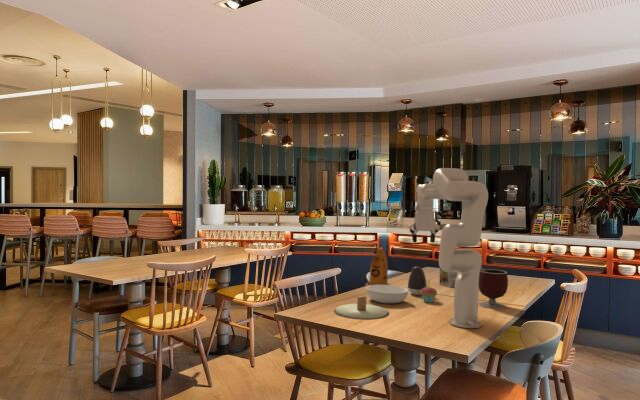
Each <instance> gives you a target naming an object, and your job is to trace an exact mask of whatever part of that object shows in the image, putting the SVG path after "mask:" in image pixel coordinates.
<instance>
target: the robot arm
mask: <svg viewBox="0 0 640 400" xmlns="http://www.w3.org/2000/svg"><path fill="white" fill-rule="evenodd" d="M468 178H469V176H468V174H467V172H466V171H465V170H463V169H461V168H450V167H440V168H437V169H436V170H435V171H434V173H433V176H432V183H424V184H418V185H417V187H416V188H417V189H416V206H414V210H416V211H415V213H414V218H413V222H412V223H411V224H410V223H409V224H408V225H407V229H408V230H409V232H410V233H411V234H412V239H411V240H412V242H413V243H415V244H416V243H418V242H417V241H418V240H417V239H418V235H417V233H418V232H430V235H429V236H430V243H432V244H433V243H435V241H436V234H437V233H438V232H439V229H440V228H441V226H440V225H439V224H437V223H436V221H435V213H434V211H433V200H446V201H448V202H449V201H450V202H468V203H467V204H466V206H465V207H464V208H463V209H462V211H461V215H460V217H461V218H460V222H459V223H456V222H455V223H448V224H446V225H444V226H443V228H442V231H441V234H440V242H439V243H440V244H439V251H438V266H439V269H440V268H441V270H443V271H445V272H457V277H456V280H455V287H454V294H453V295H454V299H453V318H451V319H450V320H449V323H450V325H452V326H455V327H458V328H461V329H462V328H463V329H477V328H481V327H482V322H481V321H479V320H478V318H479V316H478V314H479V273H480V268H481V267H482V264H483V263H482V262H483V261H482V260H483V259H482V258H483V257H482V255H481V253H480V252H479V251H477V250H475V249H473V248H465V247H476V246H478V245H479V244H480V241H481V238H482V237H481V236H482V228H483V221H484V213H485V211H486V207H487V205H488V200H489V192H488V188H487V186H486V185H485V183H482V182H479V181H473V180H468ZM458 247H463V248H458Z"/></svg>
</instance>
